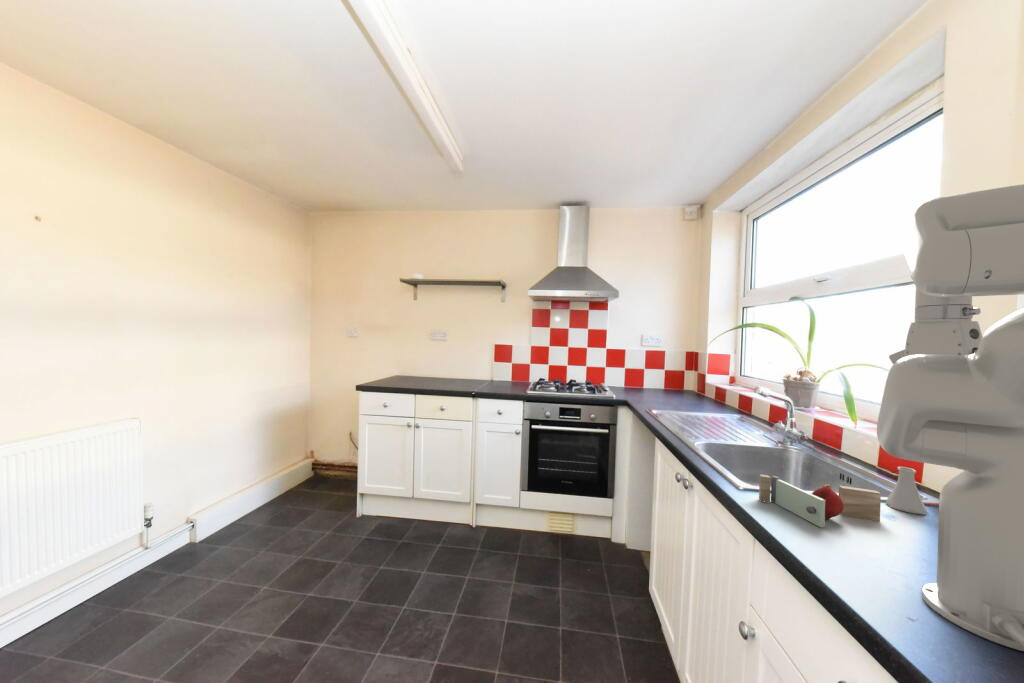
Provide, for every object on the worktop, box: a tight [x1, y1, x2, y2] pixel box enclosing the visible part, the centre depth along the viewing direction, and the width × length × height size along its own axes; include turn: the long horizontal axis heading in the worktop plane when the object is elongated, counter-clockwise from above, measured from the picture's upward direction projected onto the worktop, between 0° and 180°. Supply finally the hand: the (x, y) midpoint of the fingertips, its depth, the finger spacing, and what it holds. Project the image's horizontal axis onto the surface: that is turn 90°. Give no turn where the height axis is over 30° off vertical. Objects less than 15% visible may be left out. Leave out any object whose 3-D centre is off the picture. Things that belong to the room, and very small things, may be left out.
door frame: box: [758, 474, 882, 522], centre depth 87 cm, size 2×23×6 cm, turn 67°
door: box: [770, 475, 826, 528], centre depth 85 cm, size 2×13×6 cm, turn 7°
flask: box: [884, 466, 928, 516], centre depth 89 cm, size 7×7×10 cm
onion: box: [811, 484, 844, 520], centre depth 83 cm, size 6×6×8 cm
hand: (939, 397), depth 73 cm, fingers open, 9 cm apart
